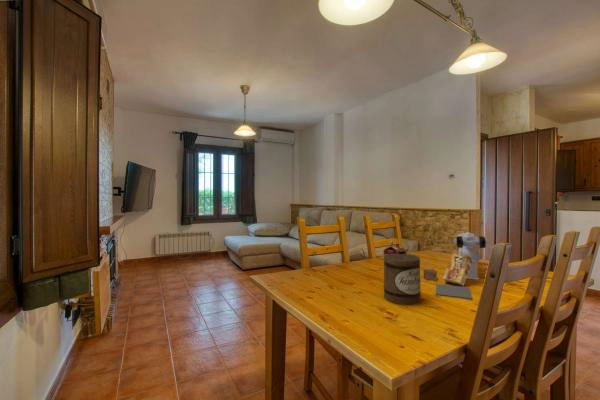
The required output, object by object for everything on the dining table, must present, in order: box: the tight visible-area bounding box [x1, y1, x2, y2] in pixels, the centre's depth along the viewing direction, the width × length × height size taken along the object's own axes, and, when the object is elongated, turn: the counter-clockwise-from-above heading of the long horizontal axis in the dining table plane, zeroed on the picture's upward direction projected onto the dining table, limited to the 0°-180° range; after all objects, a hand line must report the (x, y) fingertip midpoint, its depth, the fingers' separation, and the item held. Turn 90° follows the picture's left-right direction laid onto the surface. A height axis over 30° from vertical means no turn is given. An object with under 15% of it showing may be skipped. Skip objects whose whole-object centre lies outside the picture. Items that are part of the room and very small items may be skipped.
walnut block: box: [423, 268, 438, 282], centre depth 149 cm, size 5×5×5 cm
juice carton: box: [383, 241, 400, 257], centre depth 135 cm, size 7×7×22 cm
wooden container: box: [383, 247, 422, 306], centre depth 121 cm, size 15×15×22 cm
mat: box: [435, 283, 473, 301], centre depth 129 cm, size 16×14×1 cm
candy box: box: [442, 252, 473, 287], centre depth 141 cm, size 9×4×15 cm
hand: (471, 243), depth 134 cm, fingers open, 7 cm apart
